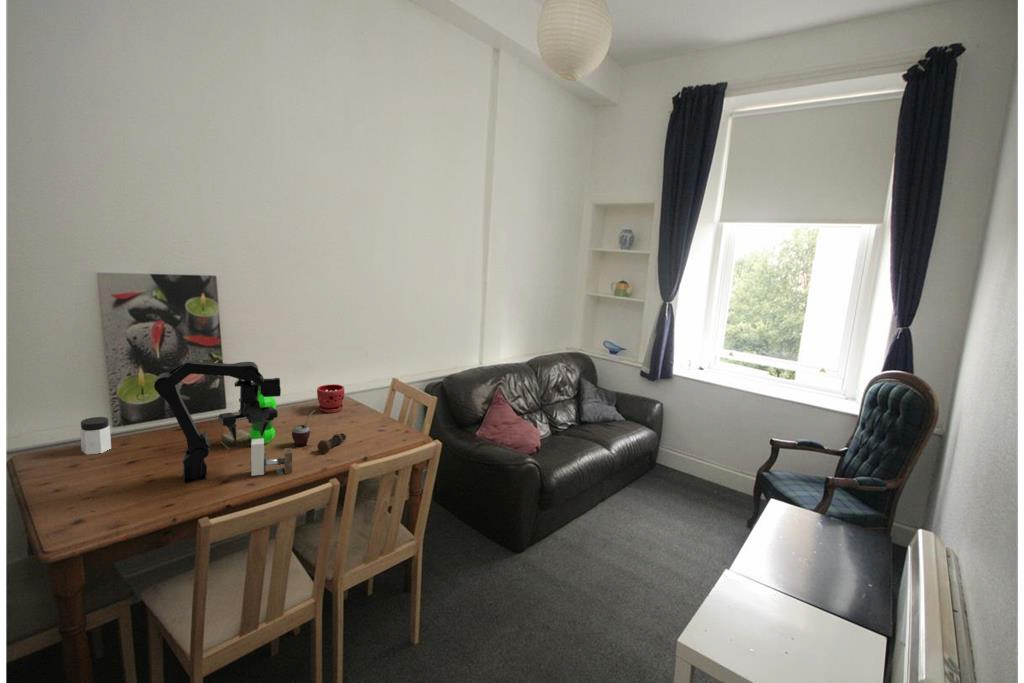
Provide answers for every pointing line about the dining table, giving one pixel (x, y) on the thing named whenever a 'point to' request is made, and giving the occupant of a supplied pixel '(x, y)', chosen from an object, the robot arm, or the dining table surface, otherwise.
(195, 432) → the robot arm
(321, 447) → the brown knobbed cylinder
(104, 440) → the jar
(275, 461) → the pipe
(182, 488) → the dining table surface
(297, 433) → the mate gourd
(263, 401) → the plastic bottle
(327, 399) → the plant pot
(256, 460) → the white rectangular block
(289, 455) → the pipe block
